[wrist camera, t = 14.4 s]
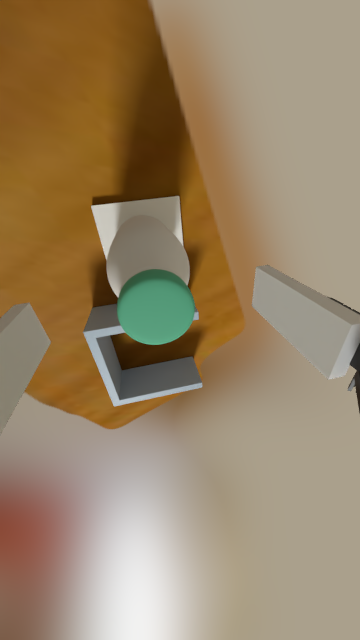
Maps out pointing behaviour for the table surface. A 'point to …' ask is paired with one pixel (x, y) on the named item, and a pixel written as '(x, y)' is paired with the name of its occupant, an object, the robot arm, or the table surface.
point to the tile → (118, 213)
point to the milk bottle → (150, 281)
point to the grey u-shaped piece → (136, 380)
